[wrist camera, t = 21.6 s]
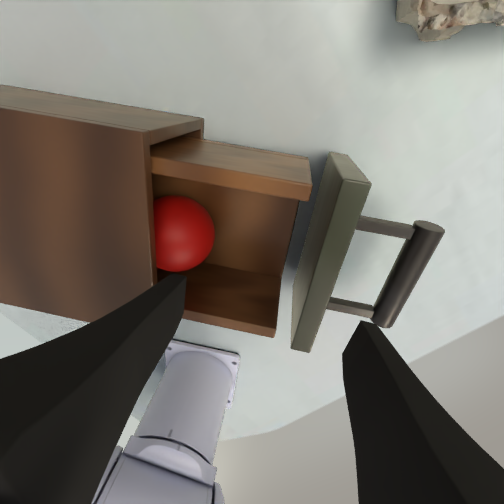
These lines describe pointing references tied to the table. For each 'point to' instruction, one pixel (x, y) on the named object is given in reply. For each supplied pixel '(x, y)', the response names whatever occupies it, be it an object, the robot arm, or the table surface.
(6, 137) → the cabinet
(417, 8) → the egg carton
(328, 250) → the drawer
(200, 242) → the apple
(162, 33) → the table surface
